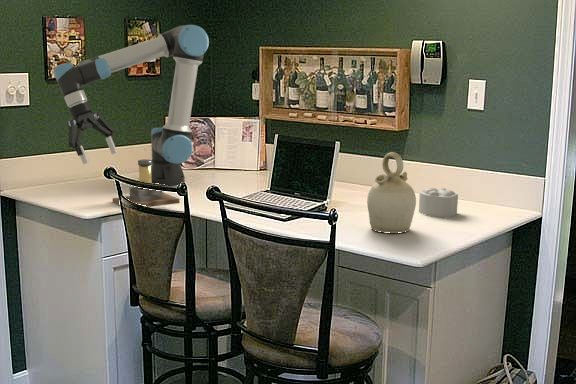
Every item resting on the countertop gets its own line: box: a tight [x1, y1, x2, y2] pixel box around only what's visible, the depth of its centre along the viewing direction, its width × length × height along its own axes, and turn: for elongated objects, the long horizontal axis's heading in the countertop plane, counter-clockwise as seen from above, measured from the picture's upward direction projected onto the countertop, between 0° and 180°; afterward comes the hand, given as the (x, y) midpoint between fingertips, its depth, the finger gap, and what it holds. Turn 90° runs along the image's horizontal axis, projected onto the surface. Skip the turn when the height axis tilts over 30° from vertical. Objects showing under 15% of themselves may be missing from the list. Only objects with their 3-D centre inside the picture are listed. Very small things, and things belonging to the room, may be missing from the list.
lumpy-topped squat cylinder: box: [418, 187, 459, 218], centre depth 260 cm, size 10×13×9 cm
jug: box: [366, 151, 417, 233], centre depth 235 cm, size 15×16×25 cm
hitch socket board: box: [112, 186, 181, 207], centre depth 271 cm, size 20×14×6 cm
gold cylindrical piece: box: [137, 158, 152, 190], centre depth 270 cm, size 5×5×14 cm
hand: (100, 158), depth 276 cm, fingers open, 13 cm apart
